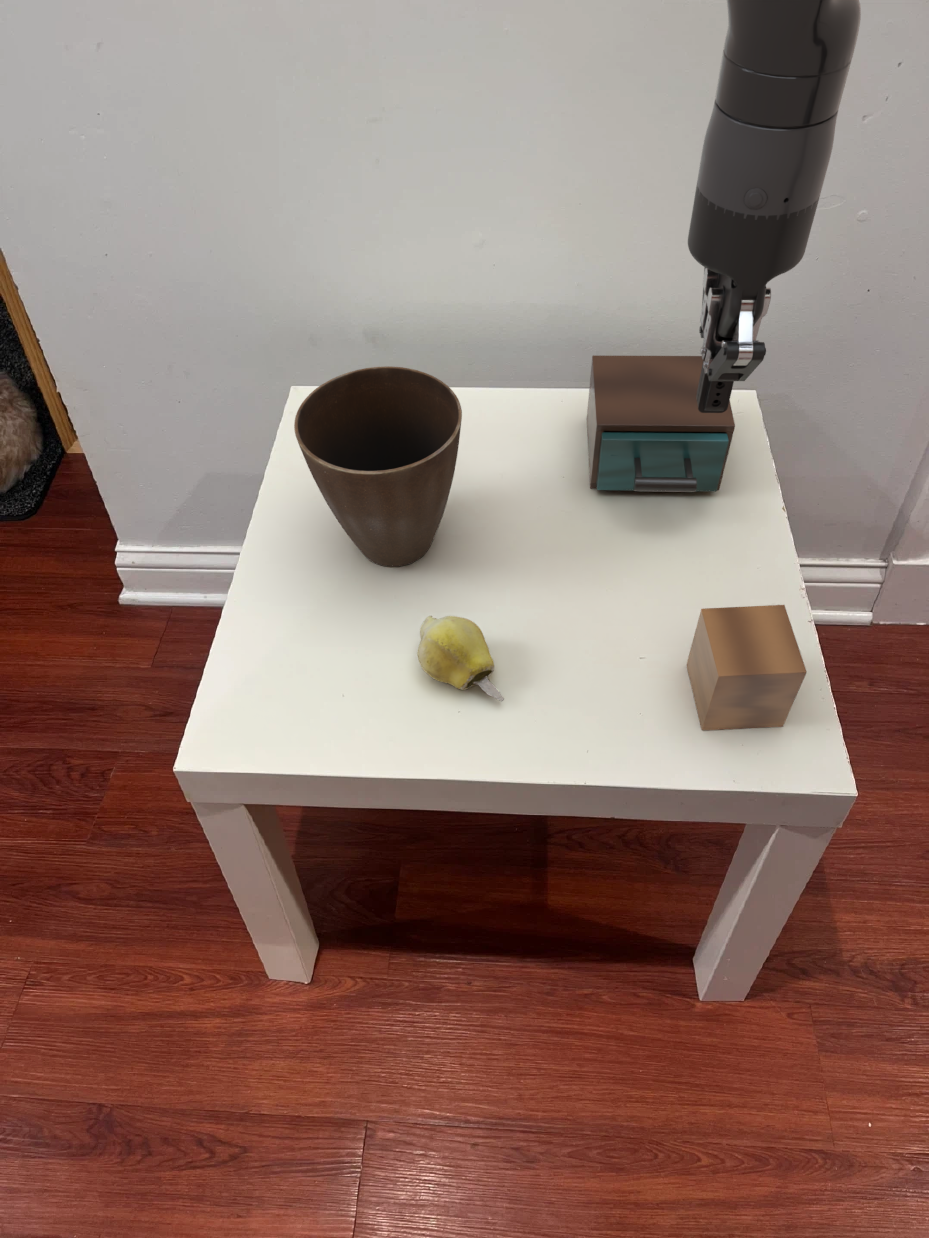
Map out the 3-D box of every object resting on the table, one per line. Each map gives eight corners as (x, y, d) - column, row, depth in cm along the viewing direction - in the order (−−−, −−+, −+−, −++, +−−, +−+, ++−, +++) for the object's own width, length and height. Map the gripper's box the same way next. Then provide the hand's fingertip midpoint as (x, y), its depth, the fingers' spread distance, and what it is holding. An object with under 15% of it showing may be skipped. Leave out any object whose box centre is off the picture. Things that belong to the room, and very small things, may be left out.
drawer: (721, 521, 94) (734, 470, 88) (598, 519, 94) (604, 469, 89) (705, 427, 103) (716, 376, 98) (593, 426, 104) (598, 375, 98)
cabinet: (719, 490, 98) (735, 426, 91) (590, 488, 98) (596, 424, 92) (706, 420, 105) (720, 355, 98) (586, 419, 106) (592, 355, 99)
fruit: (479, 729, 80) (393, 662, 83) (517, 696, 84) (434, 633, 87) (498, 685, 76) (408, 616, 79) (537, 653, 80) (450, 588, 83)
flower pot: (325, 606, 89) (296, 483, 77) (317, 500, 99) (291, 375, 86) (477, 585, 90) (474, 461, 78) (455, 483, 100) (449, 357, 87)
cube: (763, 661, 83) (784, 604, 77) (783, 726, 79) (807, 672, 73) (686, 664, 84) (701, 608, 77) (701, 730, 79) (718, 676, 73)
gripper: (843, 235, 53) (774, 465, 66) (802, 132, 61) (748, 355, 75) (710, 235, 53) (668, 464, 67) (687, 134, 62) (654, 355, 75)
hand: (710, 406), depth 71 cm, fingers closed
